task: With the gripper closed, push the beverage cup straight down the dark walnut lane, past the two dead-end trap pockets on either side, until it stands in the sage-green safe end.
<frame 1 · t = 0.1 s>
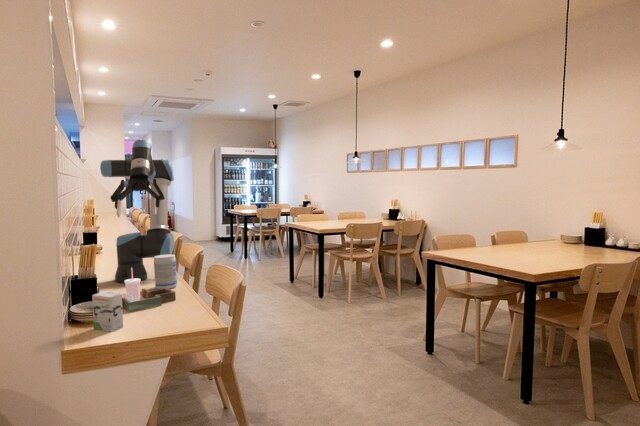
hand: (136, 214, 171), 36 cm above the counter, tool tilted 35°, fingers open, 13 cm apart
ink box: (108, 329, 143), on the counter
trap lane: (137, 303, 172), on the counter
supplement tub: (166, 287, 198), on the counter
beverage cup: (133, 302, 175), on the counter
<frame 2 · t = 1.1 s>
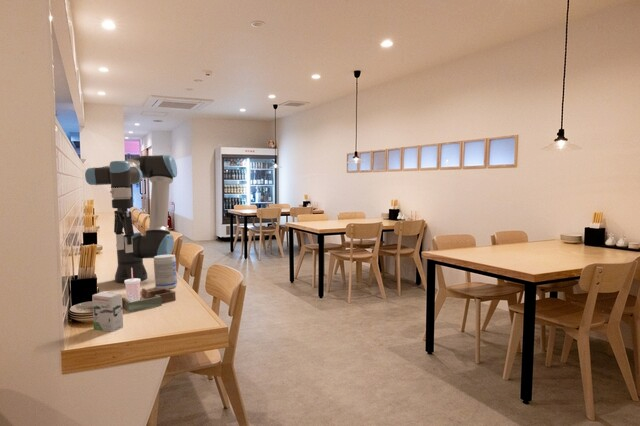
hand: (124, 251, 180), 20 cm above the counter, tool pointing down, fingers open, 11 cm apart
nothing on the counter moved.
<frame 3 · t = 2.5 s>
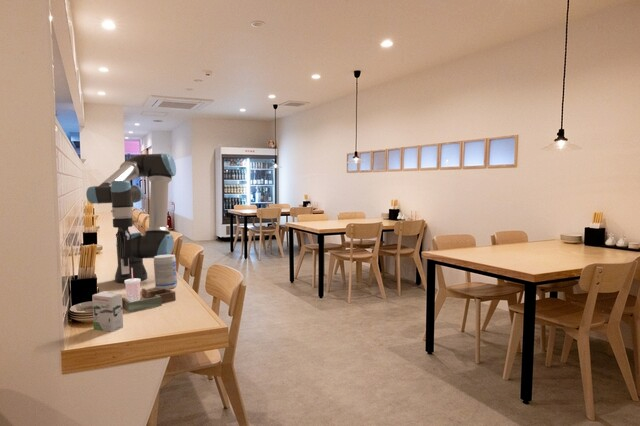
hand: (125, 273, 180), 10 cm above the counter, tool pointing down, fingers closed
nothing on the counter moved.
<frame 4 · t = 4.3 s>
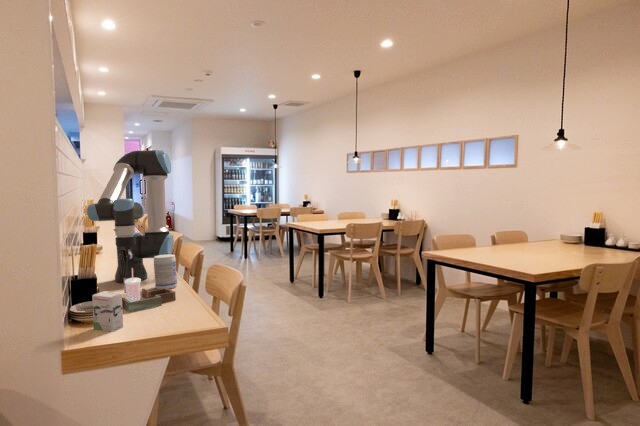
hand: (128, 292, 178), 3 cm above the counter, tool pointing down, fingers closed
beverage cup: (133, 301, 175), on the counter, touching gripper
everything else where it was.
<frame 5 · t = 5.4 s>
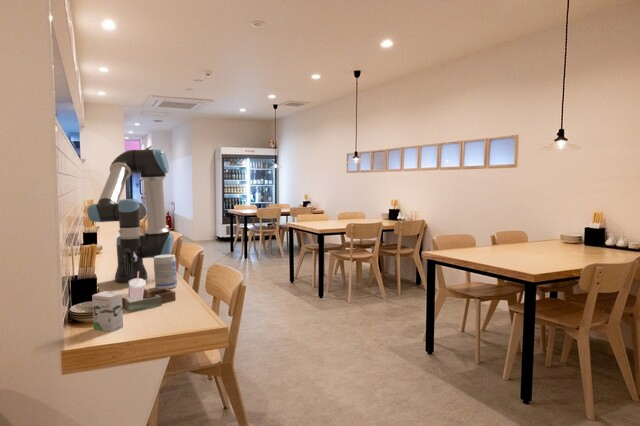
hand: (132, 295, 175), 3 cm above the counter, tool pointing down, fingers closed
beverage cup: (136, 301, 173), point 1 cm above the counter, touching gripper, hand
everything else where it was.
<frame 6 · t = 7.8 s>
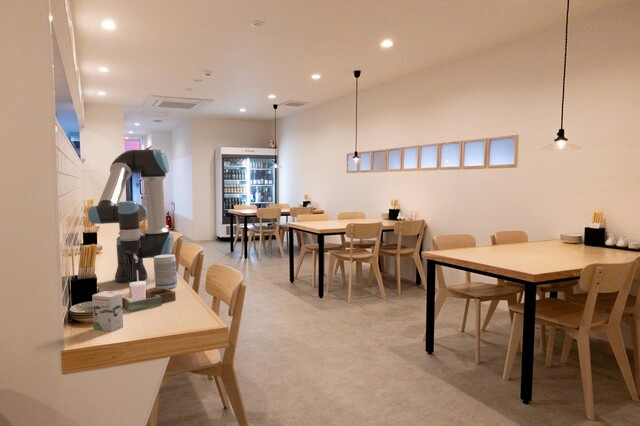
hand: (133, 296, 176), 2 cm above the counter, tool pointing down, fingers closed
beverage cup: (139, 305, 170), on the counter
everything else where it was.
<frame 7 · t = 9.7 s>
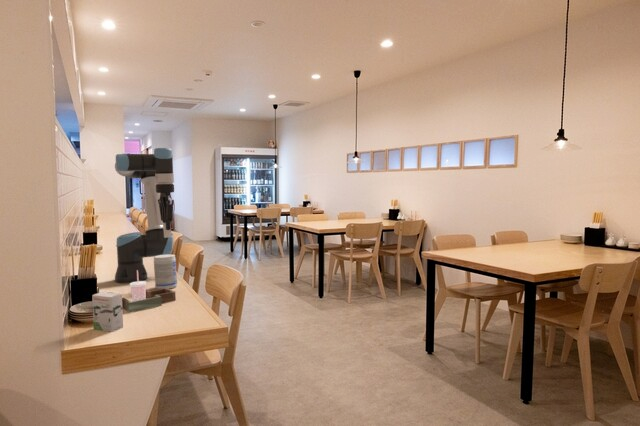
hand: (167, 237, 189), 24 cm above the counter, tool pointing down, fingers closed
nothing on the counter moved.
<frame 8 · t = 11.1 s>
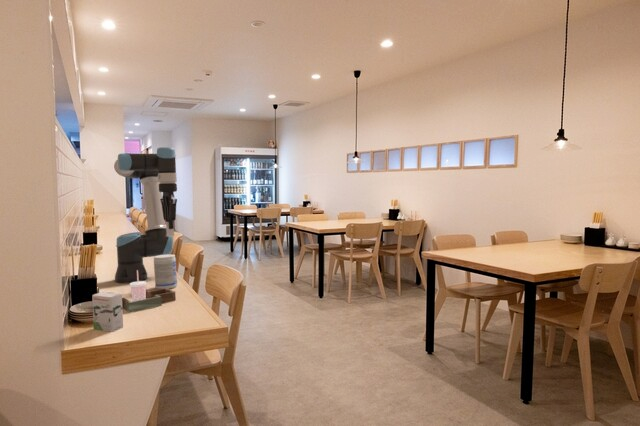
hand: (170, 236, 191), 24 cm above the counter, tool pointing down, fingers closed
nothing on the counter moved.
at the end: beverage cup inside the target area (2.6 cm from its centre), on the counter; beverage cup tilted 0°; beverage cup touching counter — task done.
